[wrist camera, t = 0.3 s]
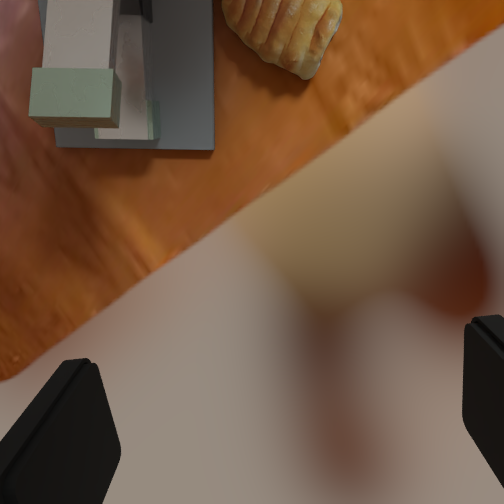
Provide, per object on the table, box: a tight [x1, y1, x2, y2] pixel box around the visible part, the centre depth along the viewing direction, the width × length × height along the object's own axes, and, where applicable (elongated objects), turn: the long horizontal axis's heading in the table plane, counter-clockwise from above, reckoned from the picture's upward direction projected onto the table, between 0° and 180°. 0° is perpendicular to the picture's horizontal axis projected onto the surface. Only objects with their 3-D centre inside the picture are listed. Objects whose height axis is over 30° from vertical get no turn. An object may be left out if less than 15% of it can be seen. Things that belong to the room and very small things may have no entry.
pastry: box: [221, 0, 342, 80], centre depth 34 cm, size 9×7×4 cm
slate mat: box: [38, 0, 215, 150], centre depth 35 cm, size 23×14×1 cm, turn 179°
